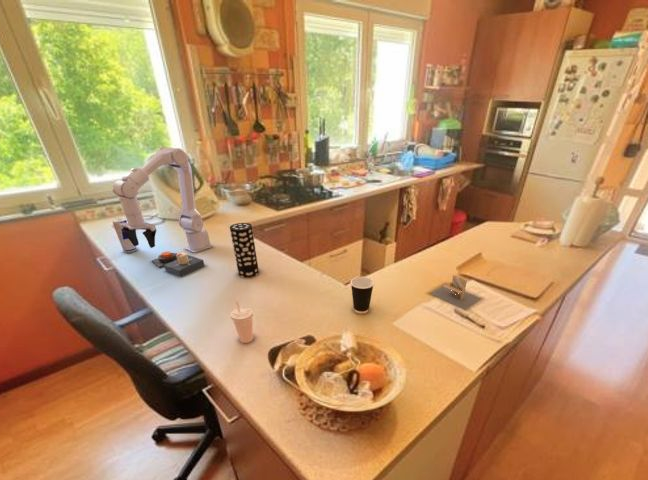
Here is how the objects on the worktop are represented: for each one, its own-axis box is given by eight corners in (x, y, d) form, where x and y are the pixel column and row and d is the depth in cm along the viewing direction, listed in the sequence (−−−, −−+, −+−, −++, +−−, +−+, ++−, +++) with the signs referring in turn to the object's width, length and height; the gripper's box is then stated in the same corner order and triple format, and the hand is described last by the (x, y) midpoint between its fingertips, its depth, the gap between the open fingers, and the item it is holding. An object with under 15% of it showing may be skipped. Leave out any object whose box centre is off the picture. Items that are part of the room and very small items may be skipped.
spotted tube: (262, 270, 143) (256, 224, 132) (250, 279, 137) (242, 231, 126) (246, 267, 146) (239, 221, 135) (234, 275, 140) (225, 228, 129)
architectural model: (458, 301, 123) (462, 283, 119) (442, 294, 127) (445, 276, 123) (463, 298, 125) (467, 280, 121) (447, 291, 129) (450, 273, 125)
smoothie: (237, 333, 107) (229, 295, 99) (258, 332, 108) (251, 294, 100) (234, 346, 102) (225, 306, 94) (255, 345, 102) (248, 305, 94)
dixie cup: (375, 314, 116) (377, 286, 110) (353, 317, 114) (353, 289, 108) (368, 302, 122) (370, 275, 116) (347, 305, 121) (347, 277, 115)
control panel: (189, 261, 152) (188, 254, 150) (204, 266, 147) (203, 259, 145) (165, 271, 143) (163, 264, 141) (180, 277, 139) (178, 270, 137)
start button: (169, 253, 153) (168, 250, 152) (173, 256, 150) (172, 253, 149) (160, 256, 150) (159, 253, 149) (164, 259, 148) (163, 256, 147)
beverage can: (131, 253, 158) (119, 222, 150) (121, 252, 159) (108, 221, 151) (139, 248, 163) (128, 218, 155) (129, 248, 164) (118, 217, 156)
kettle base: (176, 254, 157) (175, 249, 156) (184, 260, 152) (183, 255, 150) (152, 261, 151) (150, 256, 150) (159, 268, 146) (157, 262, 144)
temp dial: (184, 259, 146) (182, 251, 144) (190, 261, 144) (188, 253, 142) (176, 262, 143) (174, 254, 141) (182, 265, 141) (180, 256, 139)
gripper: (109, 215, 130) (122, 248, 138) (142, 217, 128) (154, 251, 135) (122, 209, 136) (134, 242, 143) (154, 212, 133) (164, 244, 141)
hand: (144, 246), depth 140 cm, fingers open, 7 cm apart
